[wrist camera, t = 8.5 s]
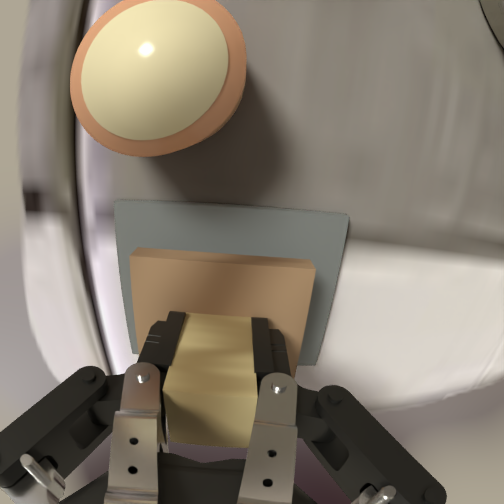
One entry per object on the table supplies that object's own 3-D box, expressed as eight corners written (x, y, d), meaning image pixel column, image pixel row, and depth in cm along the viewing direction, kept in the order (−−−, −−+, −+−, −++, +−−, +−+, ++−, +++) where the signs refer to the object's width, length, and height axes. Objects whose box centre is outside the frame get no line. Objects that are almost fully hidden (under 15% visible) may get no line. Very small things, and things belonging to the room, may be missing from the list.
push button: (251, 23, 12) (254, -15, 7) (240, 150, 14) (238, 160, 10) (121, 28, 11) (81, 1, 7) (111, 148, 14) (65, 160, 10)
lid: (310, 259, 14) (353, 335, 8) (286, 387, 17) (301, 474, 11) (137, 247, 14) (76, 313, 8) (149, 377, 16) (122, 461, 10)
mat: (346, 213, 15) (349, 216, 15) (314, 360, 19) (315, 365, 19) (117, 199, 15) (113, 202, 14) (134, 348, 19) (132, 353, 18)
